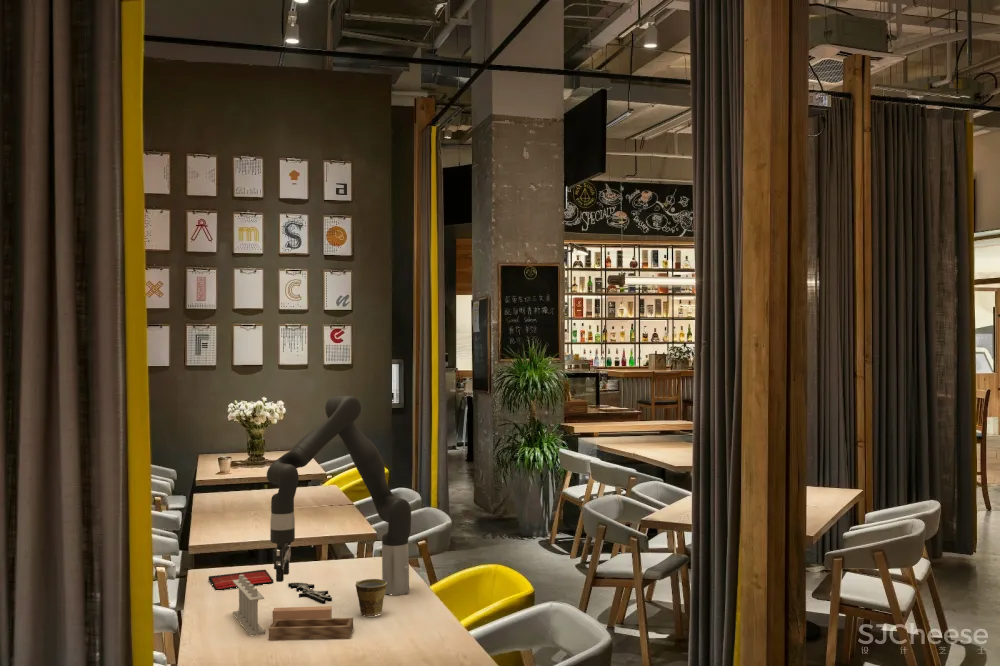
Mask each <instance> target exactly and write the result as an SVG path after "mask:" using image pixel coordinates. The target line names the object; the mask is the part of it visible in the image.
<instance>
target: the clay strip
mask: <svg viewBox="0 0 1000 666" xmlns="http://www.w3.org/2000/svg"><path fill="white" fill-rule="evenodd" d="M332 607H333V606H332V605H325V606H324V605H323V606H319V605H318V606H296V607H295V606H294V607H293V606H292V607H291V606H290V607H288V606H287V607H274V608H273V610H271V611H272V622H273V621H274V620H275V619H322V618H333V617H332V616H333V610H332V609H333V608H332Z"/></svg>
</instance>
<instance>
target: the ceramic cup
mask: <svg viewBox="0 0 1000 666" xmlns="http://www.w3.org/2000/svg"><path fill="white" fill-rule="evenodd" d="M386 585H387V582H386V581H385V580H382V578H381V579H379V578H368V579H362V580H358V581H356V582H355V589H356V595H357V598H358V604H359V609H360V615H361V614H362V615H361V616H363V615H365V616H364V617H366V616H375V615H378V614H381V615H382V611H383V605H384V599H385V595H386V594H385V591H386ZM375 617H376V616H375Z"/></svg>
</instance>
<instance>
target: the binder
mask: <svg viewBox="0 0 1000 666" xmlns="http://www.w3.org/2000/svg"><path fill="white" fill-rule="evenodd" d="M239 575H244V578H247V580H248V581H250V583H251V584H253V585H256V586H264V585H263V584H268V585H272V584H274V579H273V578H272V576H271V575H270V574H269V572H268V571H267V570H266V569H258V570H250V571H249V570H248V571H243V572H235V573H225V574H218V575H209V576H208V581H209V580H211V581H210V582H211V583H212V584H213V586H212V587H214V588H213V589H214V591H216V590H222V591H225V590H224V589H228V590H231V589H230V588H235V589H237V588H236V587H237V586H236V585H235V584H234V582H233V580H238V579H239Z"/></svg>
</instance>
